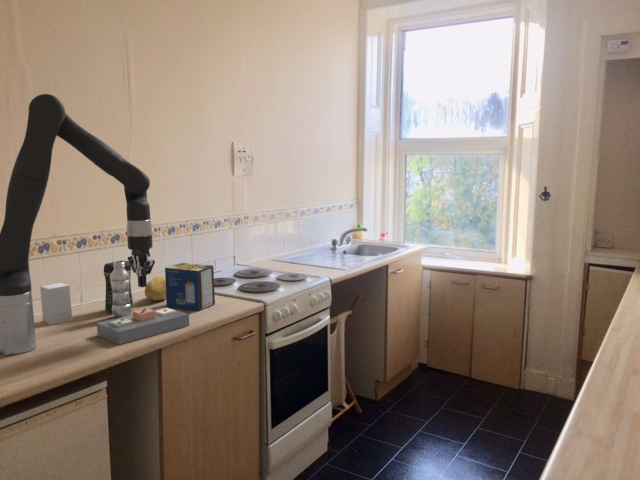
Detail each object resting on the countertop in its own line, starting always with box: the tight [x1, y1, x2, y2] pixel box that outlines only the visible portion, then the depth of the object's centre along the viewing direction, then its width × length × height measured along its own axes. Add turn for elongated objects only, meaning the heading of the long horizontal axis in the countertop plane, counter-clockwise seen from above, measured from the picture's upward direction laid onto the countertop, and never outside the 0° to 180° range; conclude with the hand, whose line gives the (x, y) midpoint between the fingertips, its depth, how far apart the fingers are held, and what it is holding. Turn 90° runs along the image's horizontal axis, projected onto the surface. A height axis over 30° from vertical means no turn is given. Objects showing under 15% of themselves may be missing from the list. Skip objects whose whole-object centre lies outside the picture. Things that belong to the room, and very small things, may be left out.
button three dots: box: [132, 307, 155, 322], centre depth 172 cm, size 5×5×5 cm
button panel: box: [96, 306, 190, 346], centre depth 172 cm, size 25×14×4 cm, turn 139°
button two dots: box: [110, 318, 133, 328], centre depth 166 cm, size 5×5×5 cm
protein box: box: [164, 262, 216, 312], centre depth 201 cm, size 10×15×16 cm
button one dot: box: [155, 307, 177, 316], centre depth 178 cm, size 5×5×5 cm
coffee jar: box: [103, 259, 134, 314], centre depth 195 cm, size 10×8×19 cm
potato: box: [144, 275, 166, 301], centre depth 211 cm, size 10×14×10 cm
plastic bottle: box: [110, 260, 133, 318], centre depth 186 cm, size 6×7×20 cm
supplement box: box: [39, 282, 73, 326], centre depth 182 cm, size 7×7×13 cm
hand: (142, 286), depth 170 cm, fingers closed
